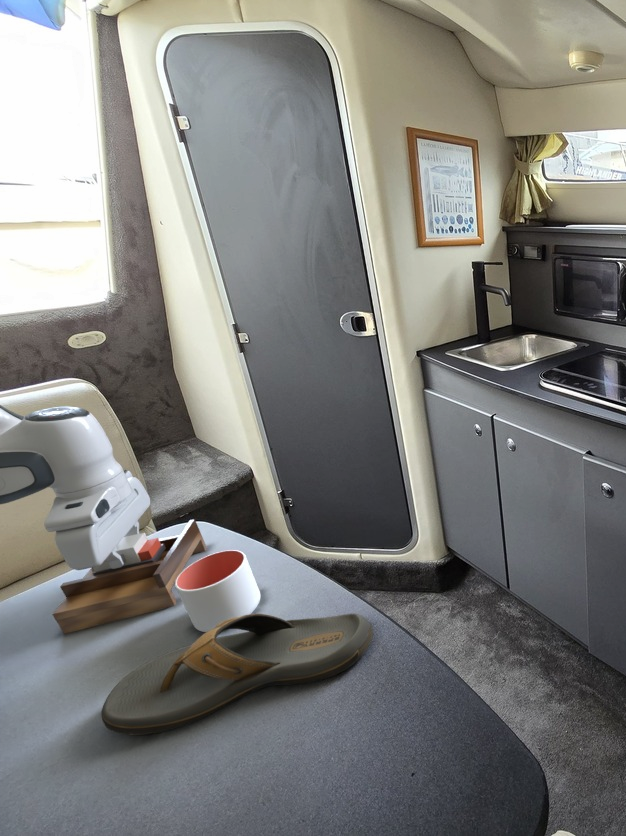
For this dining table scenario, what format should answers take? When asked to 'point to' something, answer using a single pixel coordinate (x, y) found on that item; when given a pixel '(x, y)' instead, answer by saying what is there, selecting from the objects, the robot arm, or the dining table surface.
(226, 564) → the cup
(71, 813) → the dining table surface
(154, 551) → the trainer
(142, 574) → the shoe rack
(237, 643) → the sandal
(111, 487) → the robot arm
